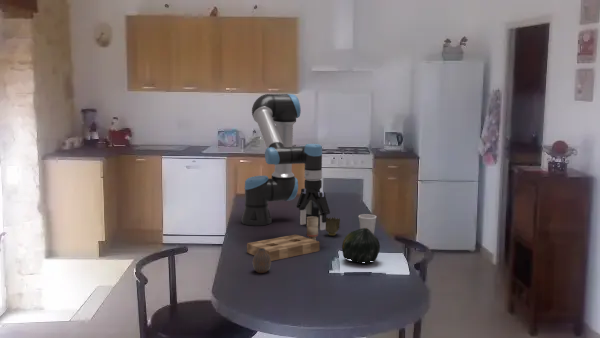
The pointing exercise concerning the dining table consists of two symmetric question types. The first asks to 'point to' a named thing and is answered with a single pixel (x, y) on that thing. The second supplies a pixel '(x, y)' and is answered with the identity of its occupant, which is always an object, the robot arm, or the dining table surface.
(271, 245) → the oak board
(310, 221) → the beech peg
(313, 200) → the robot arm
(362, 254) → the squash
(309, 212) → the milk frother
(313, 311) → the dining table surface
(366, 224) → the dixie cup
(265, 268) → the vase
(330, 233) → the wire cup brush
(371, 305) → the dining table surface
